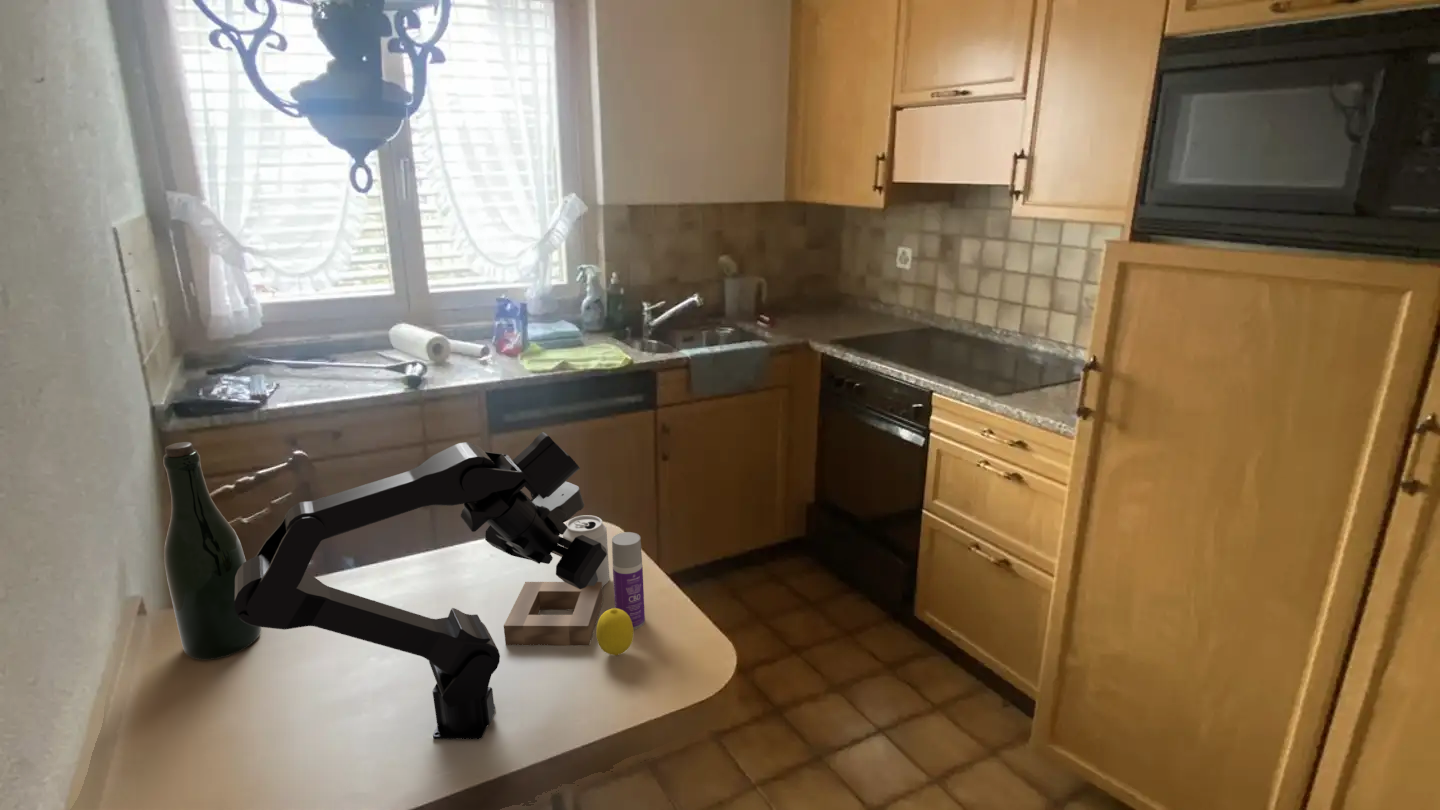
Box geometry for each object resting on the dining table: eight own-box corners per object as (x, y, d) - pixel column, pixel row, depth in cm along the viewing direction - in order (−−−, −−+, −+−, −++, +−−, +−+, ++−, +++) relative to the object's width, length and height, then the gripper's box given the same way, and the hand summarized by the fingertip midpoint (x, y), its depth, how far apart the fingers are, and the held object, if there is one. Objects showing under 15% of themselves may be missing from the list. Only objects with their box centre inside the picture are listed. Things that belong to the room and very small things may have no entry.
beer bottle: (261, 650, 121) (217, 449, 111) (180, 670, 117) (127, 463, 107) (263, 616, 130) (223, 428, 120) (188, 634, 126) (140, 439, 116)
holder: (505, 645, 122) (503, 625, 121) (527, 599, 134) (525, 581, 133) (589, 645, 122) (588, 625, 120) (603, 600, 134) (601, 581, 133)
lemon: (628, 668, 116) (625, 621, 114) (592, 663, 117) (589, 617, 115) (639, 646, 121) (637, 600, 119) (605, 642, 122) (602, 597, 120)
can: (606, 594, 136) (602, 531, 132) (563, 594, 136) (558, 531, 132) (612, 572, 143) (609, 512, 139) (571, 572, 143) (566, 512, 139)
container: (632, 633, 125) (628, 548, 120) (609, 624, 127) (604, 540, 122) (650, 619, 128) (647, 536, 124) (628, 611, 131) (623, 529, 126)
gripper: (602, 487, 100) (651, 545, 112) (506, 450, 111) (559, 506, 122) (552, 561, 96) (607, 614, 107) (456, 515, 106) (516, 567, 117)
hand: (572, 571), depth 114 cm, fingers open, 9 cm apart
